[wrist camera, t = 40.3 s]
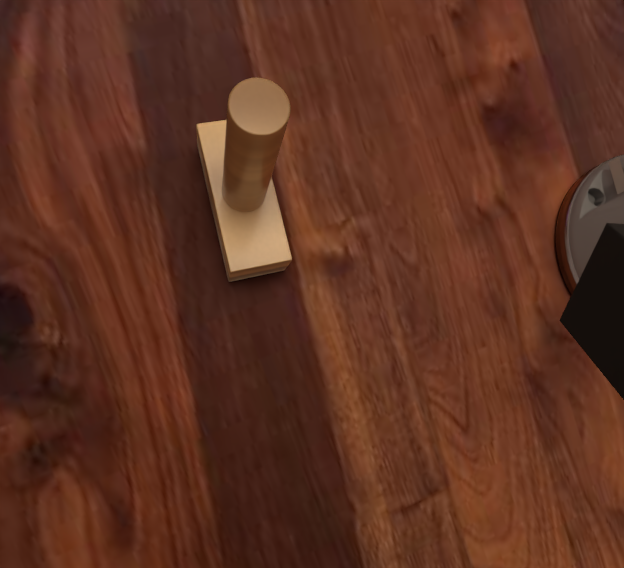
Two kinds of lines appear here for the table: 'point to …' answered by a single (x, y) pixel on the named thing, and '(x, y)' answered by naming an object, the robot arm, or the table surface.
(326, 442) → the table surface
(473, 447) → the table surface
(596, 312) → the robot arm
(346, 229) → the table surface
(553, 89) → the table surface
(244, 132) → the peg on base
